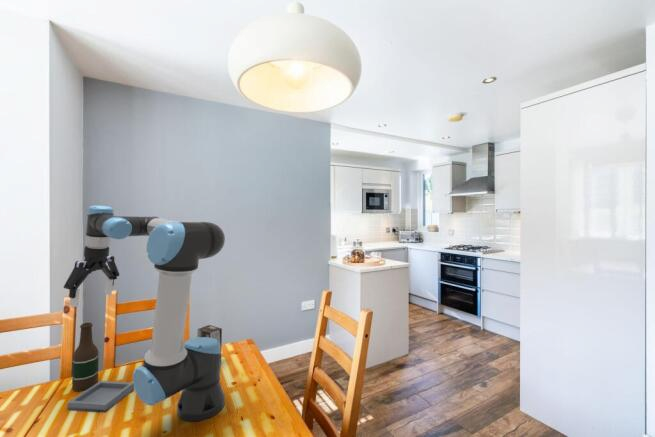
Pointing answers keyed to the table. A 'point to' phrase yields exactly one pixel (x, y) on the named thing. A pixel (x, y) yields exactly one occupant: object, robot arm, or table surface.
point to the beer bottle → (85, 361)
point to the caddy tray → (100, 396)
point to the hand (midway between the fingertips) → (91, 300)
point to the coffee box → (211, 334)
